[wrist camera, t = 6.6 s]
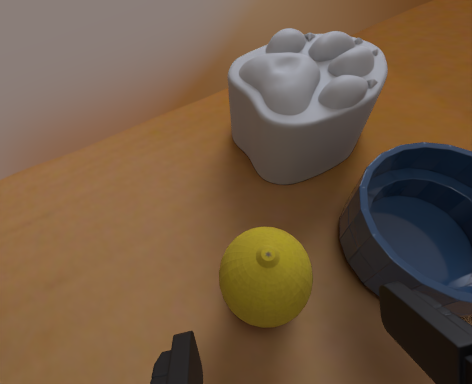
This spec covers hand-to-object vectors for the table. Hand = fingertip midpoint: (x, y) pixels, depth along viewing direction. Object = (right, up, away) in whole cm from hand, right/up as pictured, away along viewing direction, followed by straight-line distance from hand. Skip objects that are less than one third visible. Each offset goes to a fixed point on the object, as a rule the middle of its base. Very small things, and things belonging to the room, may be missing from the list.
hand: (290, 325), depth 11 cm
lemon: (0, -2, +9) cm, 9 cm away
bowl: (+11, +2, +10) cm, 15 cm away
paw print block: (+4, +12, +17) cm, 21 cm away
